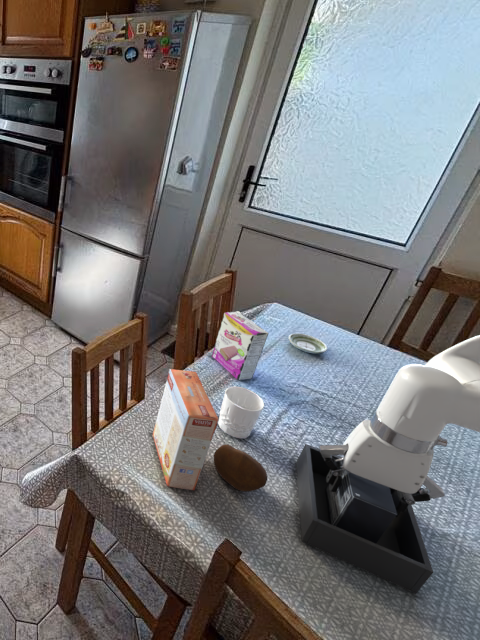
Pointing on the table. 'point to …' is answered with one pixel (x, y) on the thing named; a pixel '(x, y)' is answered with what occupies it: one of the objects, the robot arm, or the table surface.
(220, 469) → the potato
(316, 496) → the basket
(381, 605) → the table surface
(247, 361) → the candy bar box
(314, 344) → the saucer
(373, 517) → the small box
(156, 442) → the cracker box
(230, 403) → the white cup
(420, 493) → the robot arm
